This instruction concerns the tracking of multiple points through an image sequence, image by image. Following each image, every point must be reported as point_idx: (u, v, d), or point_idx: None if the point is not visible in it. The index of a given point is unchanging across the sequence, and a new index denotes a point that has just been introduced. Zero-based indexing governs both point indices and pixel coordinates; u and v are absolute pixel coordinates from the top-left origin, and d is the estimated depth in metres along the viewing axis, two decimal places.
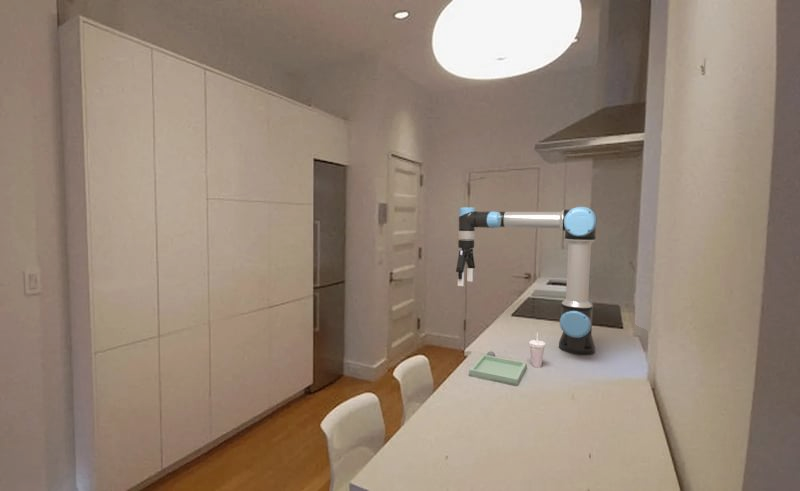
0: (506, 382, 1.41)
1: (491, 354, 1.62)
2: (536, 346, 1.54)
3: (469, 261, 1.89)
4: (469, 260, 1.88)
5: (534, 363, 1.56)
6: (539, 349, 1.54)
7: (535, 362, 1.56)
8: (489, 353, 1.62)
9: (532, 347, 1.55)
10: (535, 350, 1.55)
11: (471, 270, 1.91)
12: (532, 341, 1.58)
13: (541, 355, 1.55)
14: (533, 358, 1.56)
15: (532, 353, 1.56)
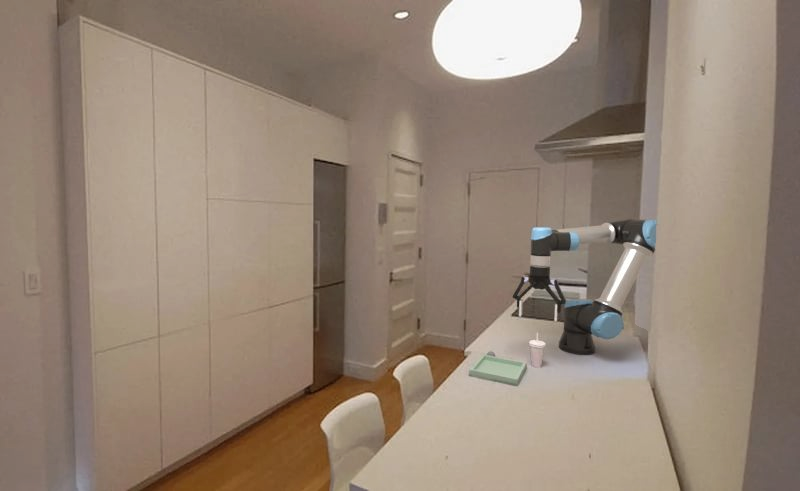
0: (506, 382, 1.41)
1: (491, 354, 1.62)
2: (536, 346, 1.54)
3: None
4: None
5: (534, 363, 1.56)
6: (539, 349, 1.54)
7: (535, 362, 1.56)
8: (489, 353, 1.62)
9: (532, 347, 1.55)
10: (535, 350, 1.55)
11: (555, 307, 1.52)
12: (532, 341, 1.58)
13: (541, 355, 1.55)
14: (533, 358, 1.56)
15: (532, 353, 1.56)
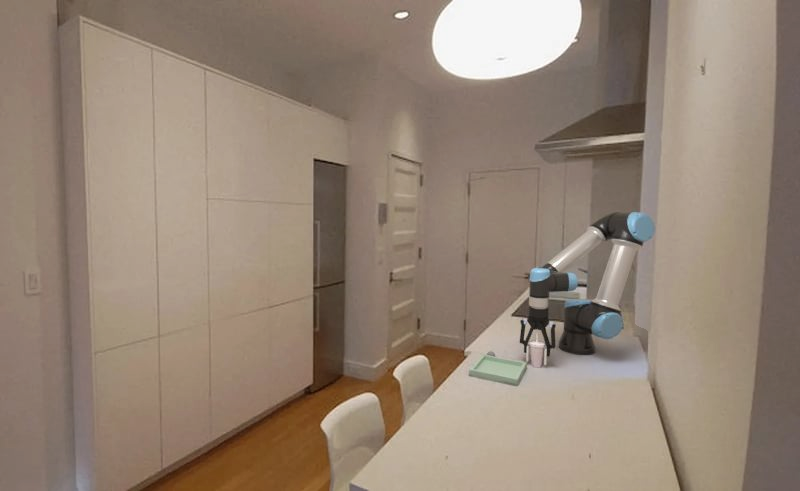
0: (506, 382, 1.41)
1: (491, 354, 1.62)
2: (536, 346, 1.54)
3: None
4: None
5: (534, 363, 1.56)
6: (539, 349, 1.54)
7: (535, 362, 1.56)
8: (489, 353, 1.62)
9: (532, 347, 1.55)
10: (535, 350, 1.55)
11: None
12: (532, 341, 1.58)
13: (541, 355, 1.55)
14: (533, 358, 1.56)
15: (532, 353, 1.56)
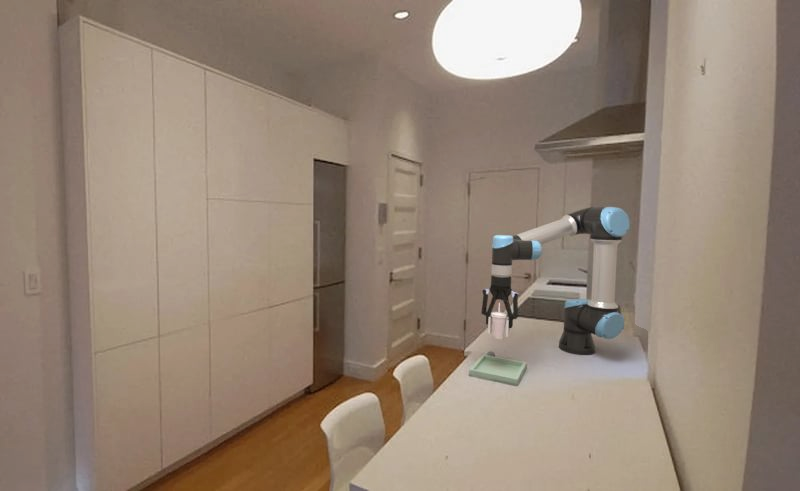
0: (506, 382, 1.41)
1: (491, 354, 1.62)
2: (497, 316, 1.46)
3: None
4: None
5: (496, 334, 1.48)
6: (501, 319, 1.46)
7: (497, 333, 1.48)
8: (489, 353, 1.62)
9: (493, 318, 1.47)
10: (496, 321, 1.47)
11: None
12: (494, 312, 1.50)
13: (503, 326, 1.47)
14: (495, 329, 1.48)
15: (494, 324, 1.48)
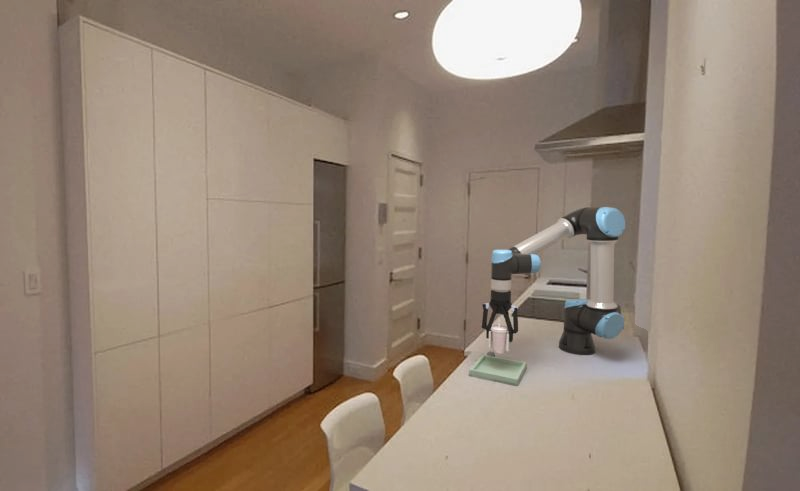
0: (506, 382, 1.41)
1: (491, 354, 1.62)
2: (498, 331, 1.47)
3: None
4: None
5: (496, 349, 1.49)
6: (501, 334, 1.47)
7: (497, 348, 1.48)
8: (489, 353, 1.62)
9: (494, 332, 1.48)
10: (497, 335, 1.47)
11: None
12: (494, 326, 1.51)
13: (503, 340, 1.48)
14: (495, 344, 1.49)
15: (494, 338, 1.49)
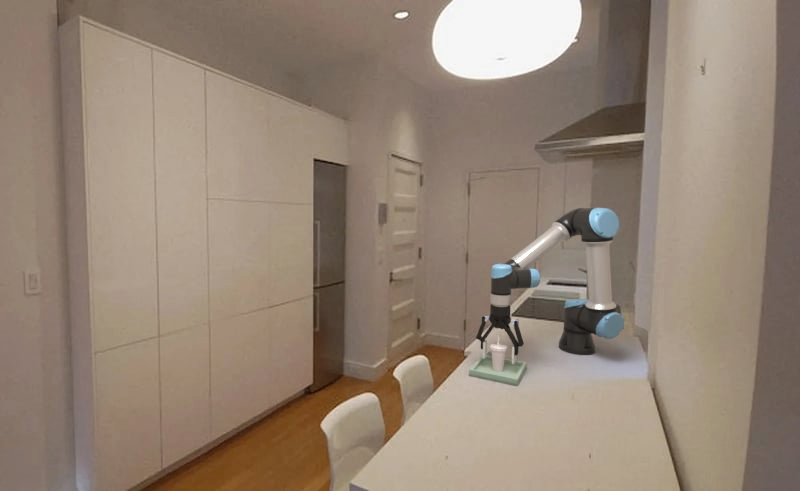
0: (506, 382, 1.41)
1: (491, 354, 1.62)
2: (497, 350, 1.48)
3: None
4: None
5: (495, 367, 1.49)
6: (500, 353, 1.48)
7: (496, 366, 1.49)
8: (489, 353, 1.62)
9: (493, 351, 1.49)
10: (496, 354, 1.48)
11: None
12: (493, 344, 1.52)
13: (502, 359, 1.48)
14: (494, 362, 1.49)
15: (493, 357, 1.49)
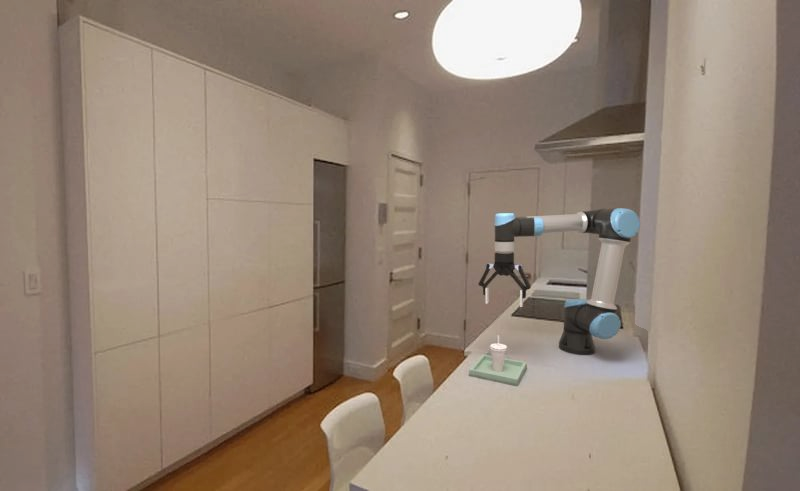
0: (506, 382, 1.41)
1: (491, 354, 1.62)
2: (497, 350, 1.47)
3: None
4: None
5: (495, 367, 1.49)
6: (500, 353, 1.48)
7: (496, 366, 1.49)
8: (489, 353, 1.62)
9: (493, 351, 1.49)
10: (496, 354, 1.48)
11: (520, 292, 1.51)
12: (493, 344, 1.52)
13: (502, 359, 1.48)
14: (494, 362, 1.49)
15: (493, 357, 1.49)
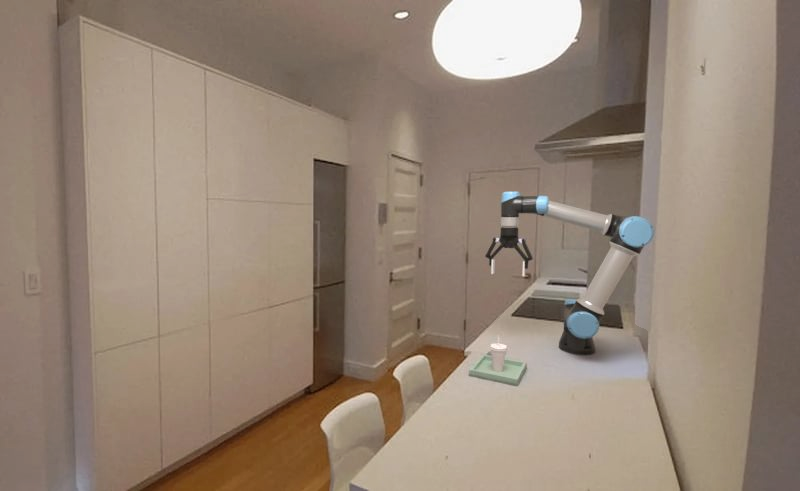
0: (506, 382, 1.41)
1: (491, 354, 1.62)
2: (497, 350, 1.47)
3: None
4: None
5: (495, 367, 1.49)
6: (500, 353, 1.48)
7: (496, 366, 1.49)
8: (489, 353, 1.62)
9: (493, 351, 1.49)
10: (496, 354, 1.48)
11: None
12: (493, 344, 1.52)
13: (502, 359, 1.48)
14: (494, 362, 1.49)
15: (493, 357, 1.49)
